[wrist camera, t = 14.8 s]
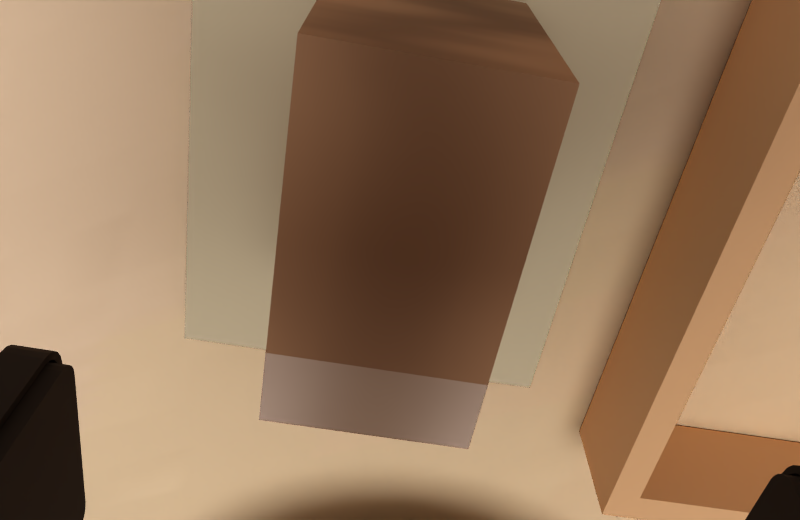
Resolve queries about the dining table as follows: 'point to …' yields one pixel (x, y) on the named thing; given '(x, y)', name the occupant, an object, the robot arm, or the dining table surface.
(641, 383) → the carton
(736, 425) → the dining table surface
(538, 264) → the board
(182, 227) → the dining table surface
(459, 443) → the walnut box
